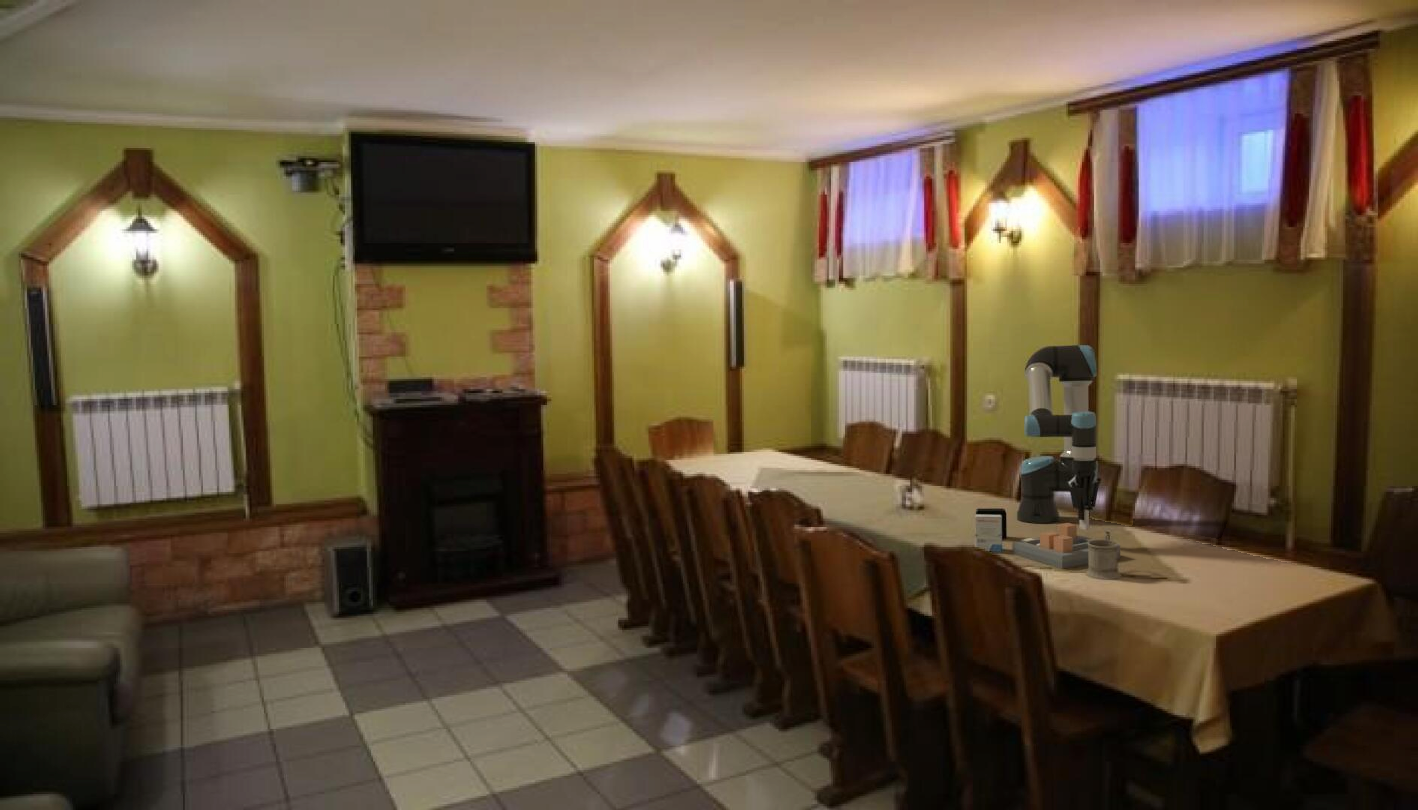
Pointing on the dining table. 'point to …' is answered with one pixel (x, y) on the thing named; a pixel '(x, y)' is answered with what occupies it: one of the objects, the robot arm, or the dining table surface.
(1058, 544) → the orange block
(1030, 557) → the grey divided tray
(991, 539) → the ink box
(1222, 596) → the dining table surface
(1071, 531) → the tab
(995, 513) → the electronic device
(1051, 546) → the tab
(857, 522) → the dining table surface
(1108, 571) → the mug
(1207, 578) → the dining table surface
